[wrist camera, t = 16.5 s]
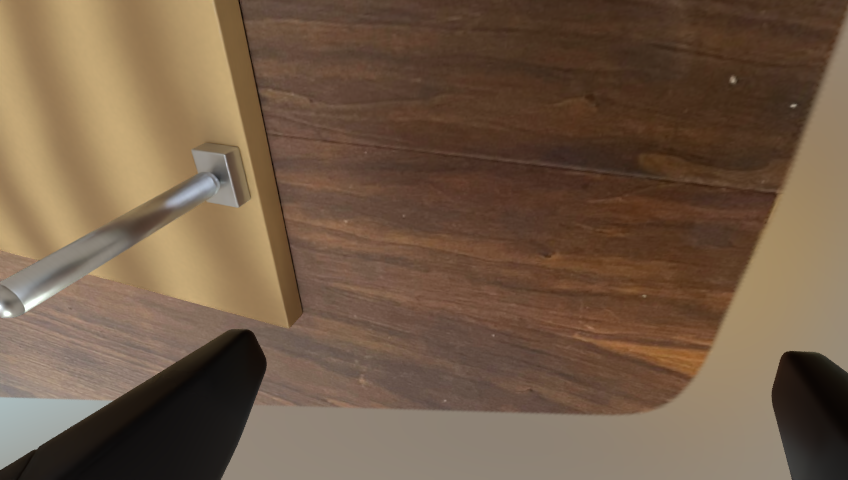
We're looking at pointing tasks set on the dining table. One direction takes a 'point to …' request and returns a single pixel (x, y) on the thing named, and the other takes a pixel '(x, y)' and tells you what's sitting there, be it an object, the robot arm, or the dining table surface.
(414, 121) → the dining table surface
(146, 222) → the metal joystick
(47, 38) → the board
